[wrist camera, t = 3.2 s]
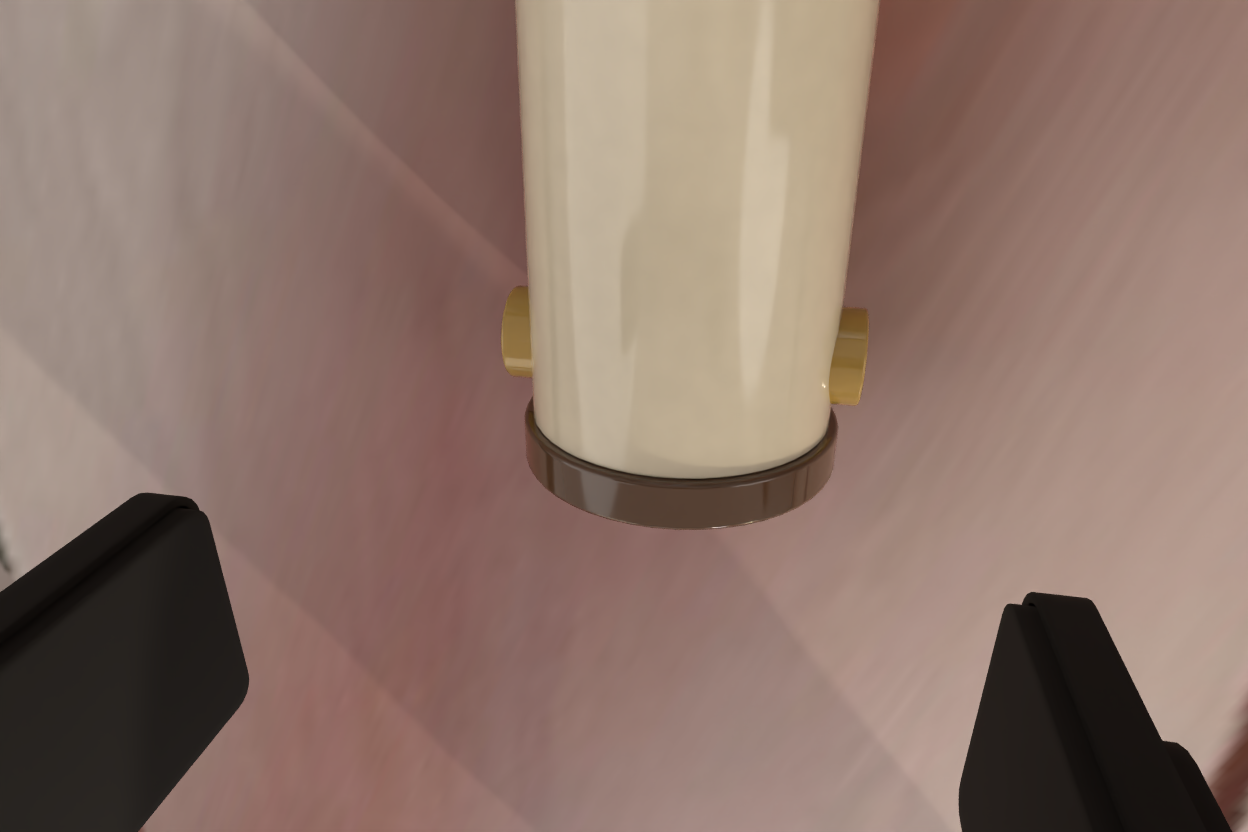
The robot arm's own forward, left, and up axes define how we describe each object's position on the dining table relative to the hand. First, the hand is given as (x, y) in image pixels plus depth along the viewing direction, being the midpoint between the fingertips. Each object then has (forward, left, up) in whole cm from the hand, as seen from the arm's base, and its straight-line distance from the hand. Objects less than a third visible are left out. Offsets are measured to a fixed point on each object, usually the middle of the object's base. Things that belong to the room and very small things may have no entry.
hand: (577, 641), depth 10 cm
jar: (-9, 0, -9) cm, 13 cm away
